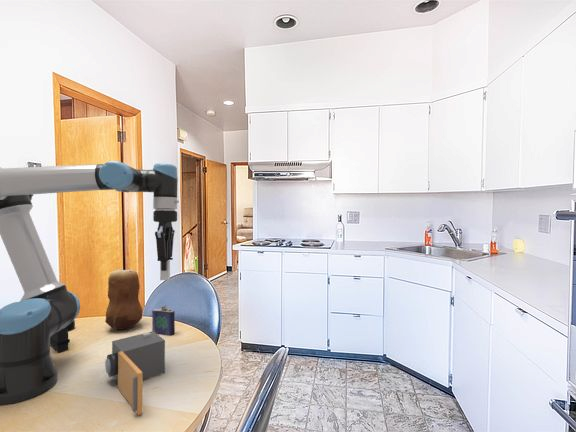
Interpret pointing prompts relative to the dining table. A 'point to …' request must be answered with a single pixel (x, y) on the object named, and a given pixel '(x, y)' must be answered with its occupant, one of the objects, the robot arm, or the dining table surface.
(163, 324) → the flask
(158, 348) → the block
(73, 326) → the tape measure
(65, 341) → the black upright slab
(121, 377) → the side door
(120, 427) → the dining table surface
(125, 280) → the butternut squash
